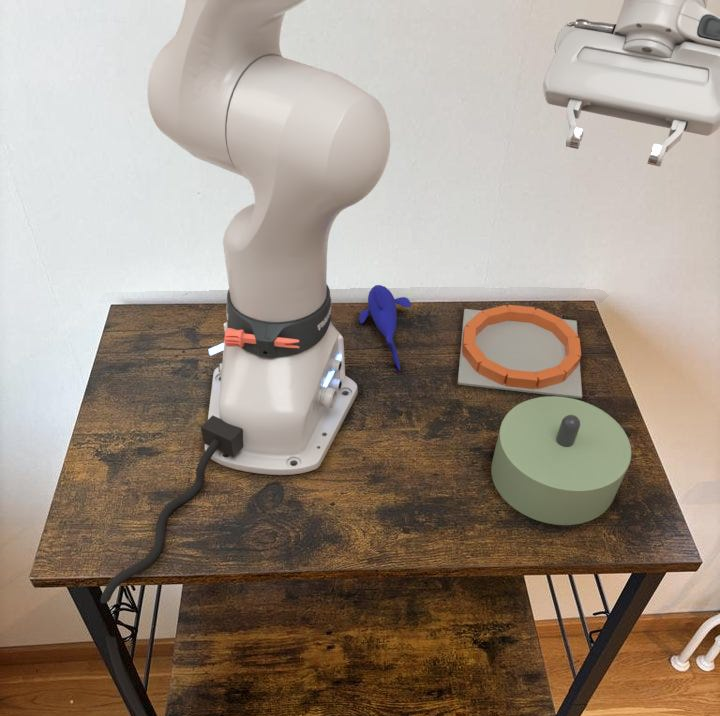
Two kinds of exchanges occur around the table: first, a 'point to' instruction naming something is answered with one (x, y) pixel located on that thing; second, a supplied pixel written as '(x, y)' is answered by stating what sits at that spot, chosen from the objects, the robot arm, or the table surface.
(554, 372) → the ring
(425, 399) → the table surface
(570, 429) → the stand
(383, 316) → the fish toy
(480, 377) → the mat
